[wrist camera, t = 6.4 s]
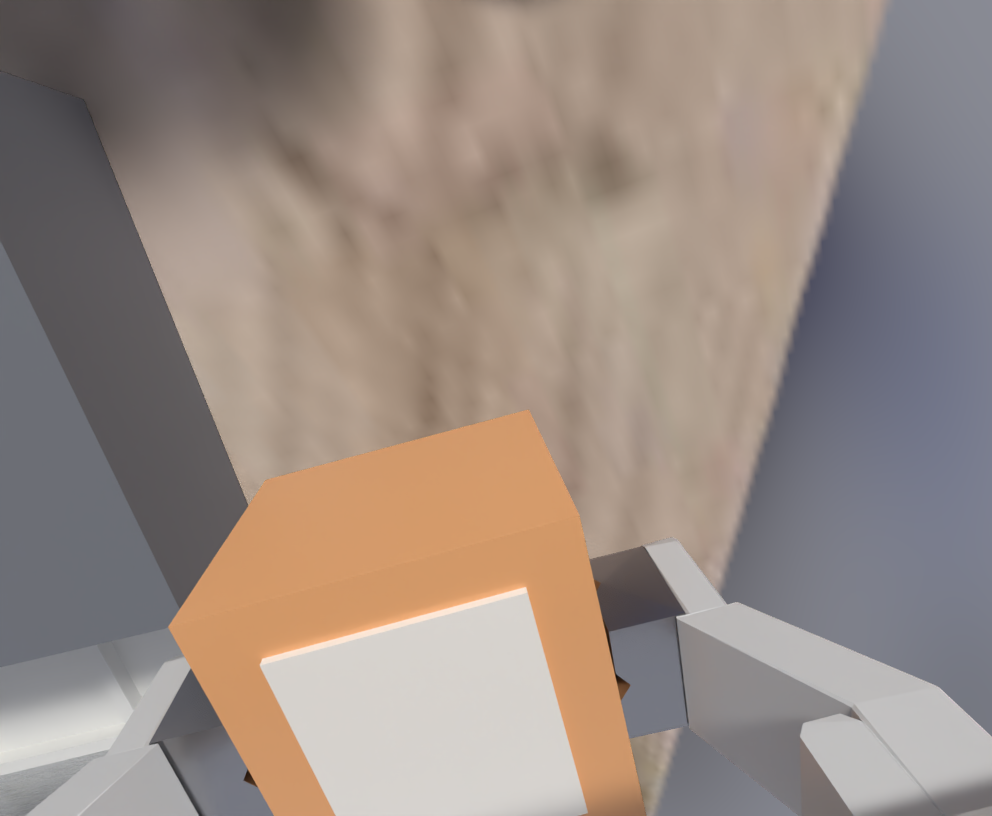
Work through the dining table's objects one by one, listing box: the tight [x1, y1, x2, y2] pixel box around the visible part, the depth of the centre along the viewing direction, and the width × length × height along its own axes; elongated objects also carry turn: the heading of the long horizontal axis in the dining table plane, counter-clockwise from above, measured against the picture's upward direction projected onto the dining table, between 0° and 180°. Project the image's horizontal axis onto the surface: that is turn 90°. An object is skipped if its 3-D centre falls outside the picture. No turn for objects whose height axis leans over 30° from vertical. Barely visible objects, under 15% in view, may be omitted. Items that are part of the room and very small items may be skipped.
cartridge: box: [168, 410, 646, 816], centre depth 8 cm, size 5×4×4 cm
